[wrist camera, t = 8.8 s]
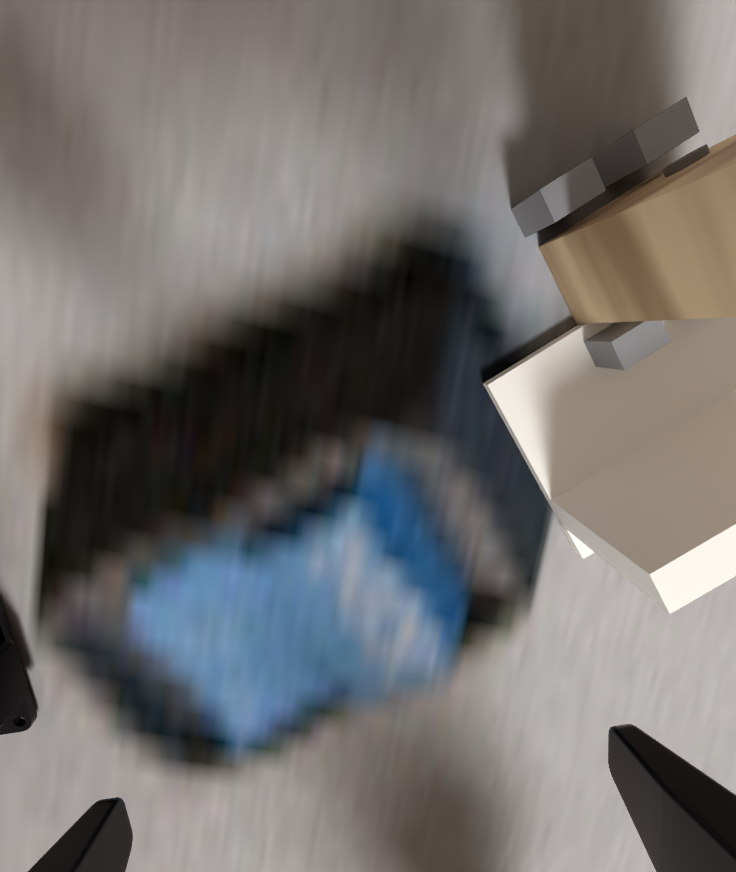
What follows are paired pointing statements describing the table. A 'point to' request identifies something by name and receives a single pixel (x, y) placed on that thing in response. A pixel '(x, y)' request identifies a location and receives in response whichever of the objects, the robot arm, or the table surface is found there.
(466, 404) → the table surface
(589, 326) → the cream board with pegs
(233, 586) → the table surface
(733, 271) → the wooden building block
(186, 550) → the table surface
